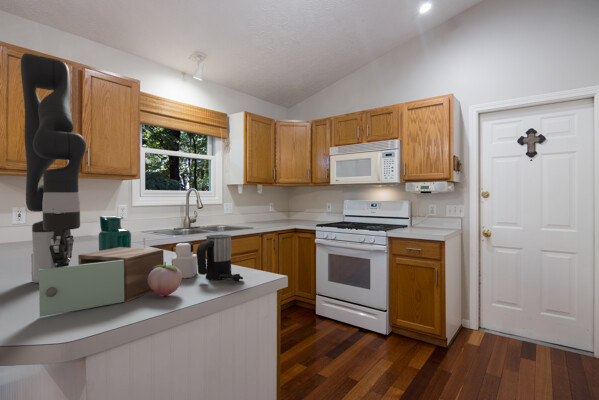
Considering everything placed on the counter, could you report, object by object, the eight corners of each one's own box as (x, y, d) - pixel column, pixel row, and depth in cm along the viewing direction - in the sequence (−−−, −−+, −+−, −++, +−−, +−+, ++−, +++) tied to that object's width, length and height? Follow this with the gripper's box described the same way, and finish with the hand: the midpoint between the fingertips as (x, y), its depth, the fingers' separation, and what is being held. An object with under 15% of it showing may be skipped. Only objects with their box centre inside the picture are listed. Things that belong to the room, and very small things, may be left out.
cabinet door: (39, 318, 72) (38, 270, 72) (40, 315, 74) (39, 269, 74) (124, 302, 83) (124, 261, 82) (123, 300, 84) (123, 259, 84)
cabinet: (79, 295, 90) (78, 254, 90) (120, 282, 104) (119, 247, 103) (127, 301, 85) (126, 258, 85) (163, 287, 98) (163, 249, 98)
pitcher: (133, 276, 112) (133, 215, 111) (109, 282, 104) (108, 217, 104) (119, 273, 117) (118, 215, 117) (95, 278, 110) (94, 216, 110)
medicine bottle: (177, 273, 116) (177, 241, 115) (197, 273, 116) (196, 241, 116) (171, 278, 108) (171, 244, 108) (192, 277, 109) (191, 244, 109)
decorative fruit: (188, 292, 92) (188, 259, 92) (171, 301, 84) (171, 265, 84) (161, 290, 94) (161, 258, 94) (142, 299, 86) (141, 264, 86)
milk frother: (213, 273, 116) (213, 233, 116) (253, 275, 113) (252, 234, 112) (192, 283, 102) (192, 238, 102) (237, 286, 99) (236, 240, 99)
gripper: (50, 209, 83) (51, 273, 83) (34, 212, 71) (35, 287, 71) (84, 208, 86) (85, 270, 86) (74, 211, 74) (75, 283, 74)
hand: (63, 278), depth 79 cm, fingers closed
